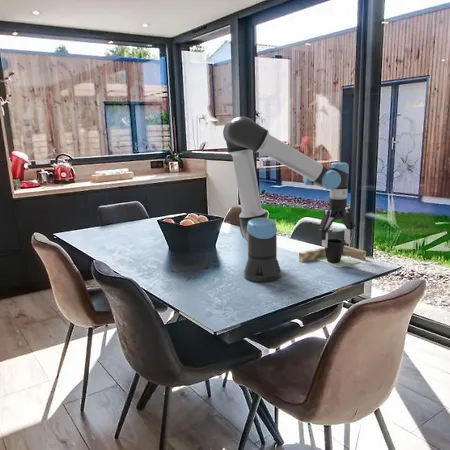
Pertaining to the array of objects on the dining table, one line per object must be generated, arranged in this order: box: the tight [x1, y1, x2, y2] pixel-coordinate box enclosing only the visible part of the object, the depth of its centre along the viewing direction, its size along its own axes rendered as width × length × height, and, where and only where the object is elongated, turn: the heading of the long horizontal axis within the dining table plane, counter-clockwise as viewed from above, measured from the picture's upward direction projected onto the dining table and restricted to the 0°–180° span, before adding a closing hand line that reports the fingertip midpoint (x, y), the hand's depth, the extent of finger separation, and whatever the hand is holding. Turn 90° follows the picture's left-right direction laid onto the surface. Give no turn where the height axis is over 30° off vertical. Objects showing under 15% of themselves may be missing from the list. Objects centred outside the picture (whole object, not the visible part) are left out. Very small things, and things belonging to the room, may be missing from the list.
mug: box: [325, 238, 346, 263], centre depth 194 cm, size 8×12×10 cm
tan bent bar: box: [298, 244, 367, 263], centre depth 196 cm, size 26×16×4 cm, turn 120°
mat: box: [314, 255, 361, 268], centre depth 195 cm, size 13×15×1 cm
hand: (335, 245), depth 193 cm, fingers open, 13 cm apart
